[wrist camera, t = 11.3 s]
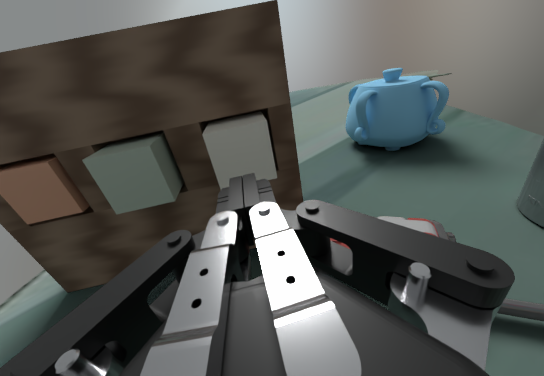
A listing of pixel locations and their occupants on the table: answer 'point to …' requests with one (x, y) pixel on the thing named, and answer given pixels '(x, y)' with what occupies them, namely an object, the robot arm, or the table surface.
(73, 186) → the terracotta key
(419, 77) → the decorative pot
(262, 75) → the keypad panel
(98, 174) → the sage key
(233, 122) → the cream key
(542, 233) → the table surface
